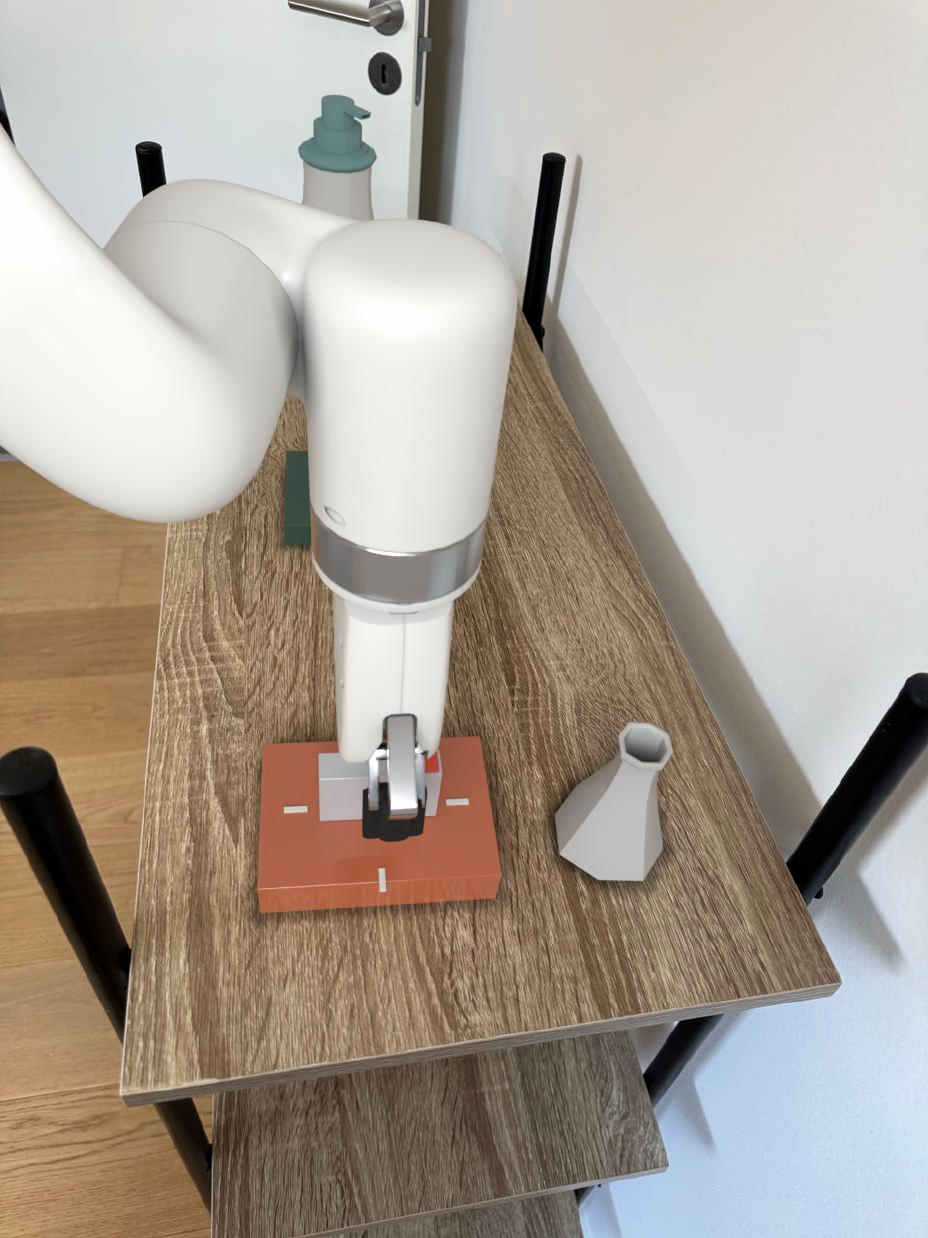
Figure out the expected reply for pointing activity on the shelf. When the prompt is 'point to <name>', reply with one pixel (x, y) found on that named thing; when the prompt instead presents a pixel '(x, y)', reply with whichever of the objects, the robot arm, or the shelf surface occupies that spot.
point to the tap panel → (371, 868)
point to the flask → (618, 810)
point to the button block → (297, 499)
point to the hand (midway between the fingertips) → (386, 757)
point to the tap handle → (363, 785)
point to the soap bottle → (338, 161)
